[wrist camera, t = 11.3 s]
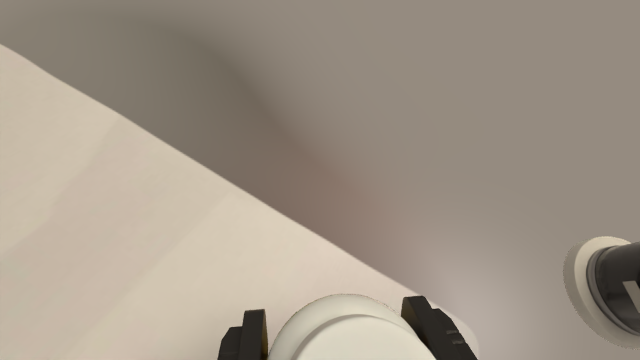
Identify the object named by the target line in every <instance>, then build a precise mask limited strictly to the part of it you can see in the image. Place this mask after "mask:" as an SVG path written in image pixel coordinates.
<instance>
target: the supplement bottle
mask: <svg viewBox="0 0 640 360" xmlns="http://www.w3.org/2000/svg"><path fill="white" fill-rule="evenodd" d="M267 360H436V359H435V357H434V356H433V355H432V353H431V352H430V351H429V350H428V348H427V347H426V346H425V345H424V344H423V343H422V342H421V341H420V339H419V338H418V336H417V335H416V333H415V332H414V331H413V329H412V328H411V327H410V325H409V324H408V323H407V322H406V321H405V320H404V319H403V318H402V317H401V316H400V315H399V314H398V313H396V312H395V311H394V310H392V309H391V308H389V307H388V306H386V305H385V304H383V303H381V302H379V301H377V300H374V299H372V298H369V297H366V296H362V295H355V294H336V295H330V296H327V297H323V298H320V299H318V300H315V301H313V302H311V303H309V304H308V305H306V306H304V307H303V308H302V309H300V310H299V311H298V312H296V313H295V314H294V315H293V316H292V317H291V318H290V319H289V321H288V322H287V323H286V324H285V325H284V326H283V328H282V329H281V331H280V332H279V334H278V336H277V337H276V339H275V341H274V343H273V345H272V348H271V350H270V352H269V355H268V358H267Z"/></svg>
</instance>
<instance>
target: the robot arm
mask: <svg viewBox="0 0 640 360" xmlns="http://www.w3.org/2000/svg"><path fill="white" fill-rule="evenodd" d="M586 277H587V283H588V287H589V290H590V293H591V295H592V297H593V299H594V301H595V303H596V304H597V306H598V307H599V309H600V310H601V311H602V312H603V314H604V315H605V316H606V317H607V318H608V319H609V320H610V321H611V322H612V323H614V324H615V325H616V326H618V327H619V328H621V329H622V330H624V331H626V332H628V333H630V334H633V335H636V336H640V242H636V243H631V244H626V245H617V246H610V247H605V248H601V249H599V250H597V251H596V252H595V253H593V255H592V256H591V257H590V259H589V261H588V264H587V269H586ZM401 317H402V318H403V319H404V320H405V321H406V322H407V323H408V324H409V325H410V327H411V328H412V329H413V331H414V332H415V333H416V335H417V336H418V338H419V339H420V341H421V342H422V343H423V344H424V345H425V346H426V347H427V348H428V350H429V351H430V352H431V353H432V355H433V356H434V357H435V359H436V360H478V359H477V358H476V356H475V355H474V353H473V352H472V350H471V349H470V347H469V346H468V344H467V343H466V342H465V340H464V338H463V337H462V335H461V333H459V330H458V329H457V327H456V326H455V324H454V323H453V321H452V320H451V318H450V317H448V316H447V315H446V314H445V313H444V312H442V311H441V310H440V309H439V308H438V309H432V308H431V306H430V304H429V303H428V301H427V300H426V298H425V297H424V296H412V297H404V298H403V303H402V310H401ZM218 355H219V356H218V359H217V360H267V358H268V338H267V326H266V315H265V309H259V310H248V311H245V313H244V318H243V325H242V326H240V327H230V328H229V330H228V331H227V333H226V334H225V336H224V337H223V339H222V341H221V345H220V350H219V354H218Z"/></svg>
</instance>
